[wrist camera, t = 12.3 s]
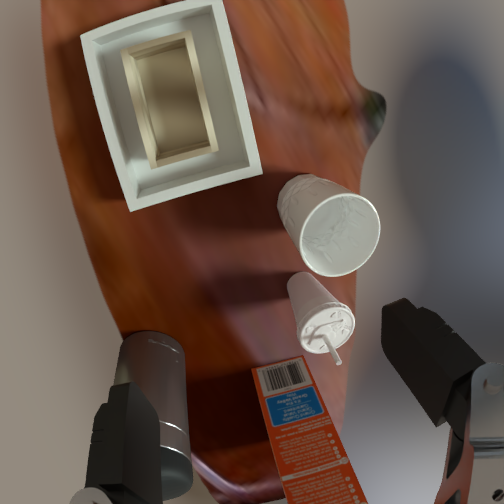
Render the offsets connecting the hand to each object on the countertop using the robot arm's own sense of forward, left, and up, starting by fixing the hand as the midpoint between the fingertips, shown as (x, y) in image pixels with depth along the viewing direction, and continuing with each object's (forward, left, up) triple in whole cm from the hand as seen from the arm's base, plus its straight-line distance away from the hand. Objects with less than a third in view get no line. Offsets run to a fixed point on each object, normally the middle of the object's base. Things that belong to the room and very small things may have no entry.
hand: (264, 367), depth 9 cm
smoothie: (-6, -17, -27) cm, 33 cm away
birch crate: (+5, +7, -26) cm, 27 cm away
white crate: (+5, +7, -27) cm, 28 cm away
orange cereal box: (-28, -30, -27) cm, 49 cm away
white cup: (+3, -11, -27) cm, 29 cm away
